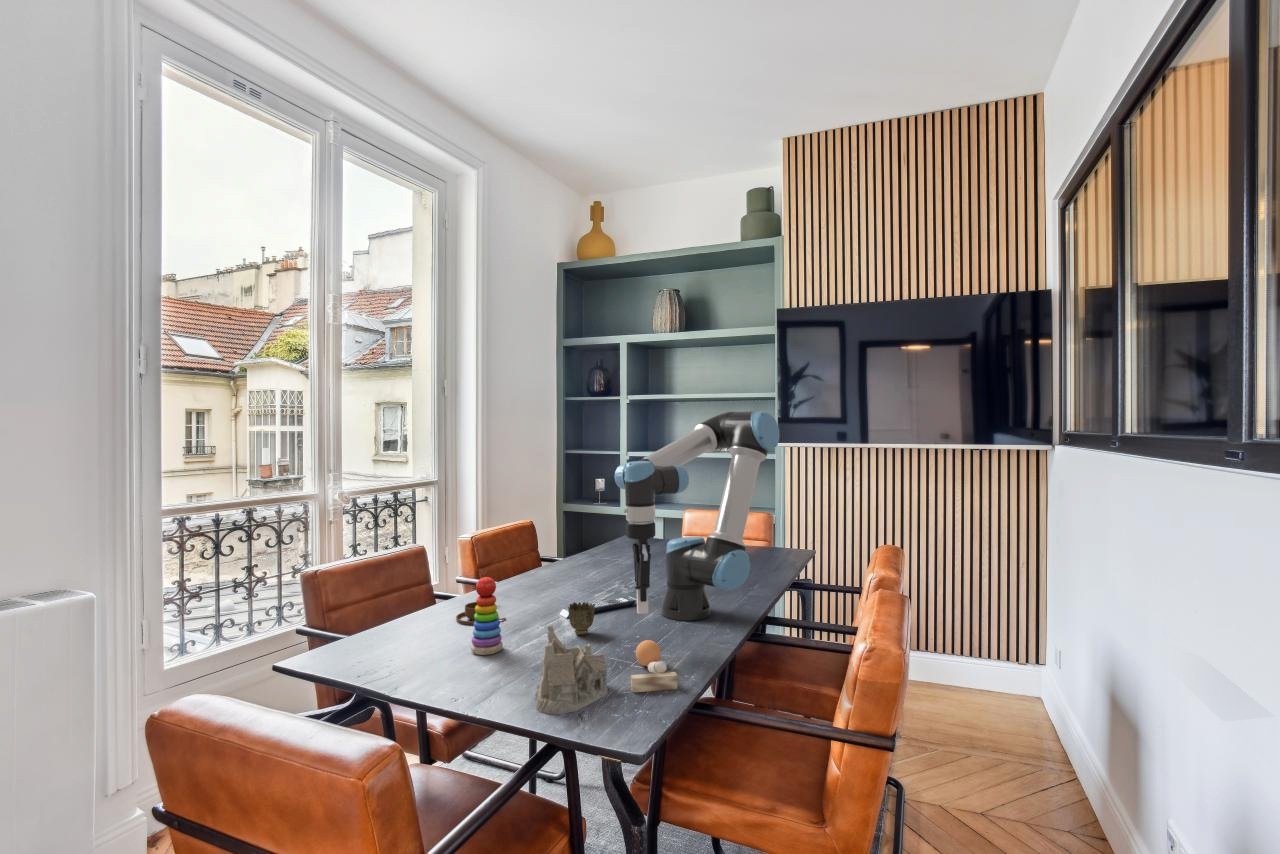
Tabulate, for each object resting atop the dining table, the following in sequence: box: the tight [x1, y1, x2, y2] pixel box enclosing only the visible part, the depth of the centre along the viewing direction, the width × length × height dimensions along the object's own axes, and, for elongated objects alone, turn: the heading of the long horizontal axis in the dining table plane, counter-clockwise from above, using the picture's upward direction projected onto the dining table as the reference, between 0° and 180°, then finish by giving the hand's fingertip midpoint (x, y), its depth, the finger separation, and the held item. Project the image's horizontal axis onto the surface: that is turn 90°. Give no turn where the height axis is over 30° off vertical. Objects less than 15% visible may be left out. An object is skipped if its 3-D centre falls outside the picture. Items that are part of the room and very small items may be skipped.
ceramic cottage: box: [534, 624, 609, 715], centre depth 135 cm, size 16×16×15 cm
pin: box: [647, 660, 668, 674], centre depth 144 cm, size 2×2×8 cm
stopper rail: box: [630, 671, 678, 694], centre depth 138 cm, size 10×2×3 cm, turn 100°
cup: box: [567, 601, 596, 637], centre depth 175 cm, size 8×7×8 cm
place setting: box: [455, 601, 507, 626], centre depth 192 cm, size 18×20×6 cm
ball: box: [635, 639, 662, 668], centre depth 152 cm, size 6×6×6 cm
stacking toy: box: [470, 576, 504, 656], centre depth 162 cm, size 8×8×19 cm
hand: (642, 612), depth 163 cm, fingers closed
